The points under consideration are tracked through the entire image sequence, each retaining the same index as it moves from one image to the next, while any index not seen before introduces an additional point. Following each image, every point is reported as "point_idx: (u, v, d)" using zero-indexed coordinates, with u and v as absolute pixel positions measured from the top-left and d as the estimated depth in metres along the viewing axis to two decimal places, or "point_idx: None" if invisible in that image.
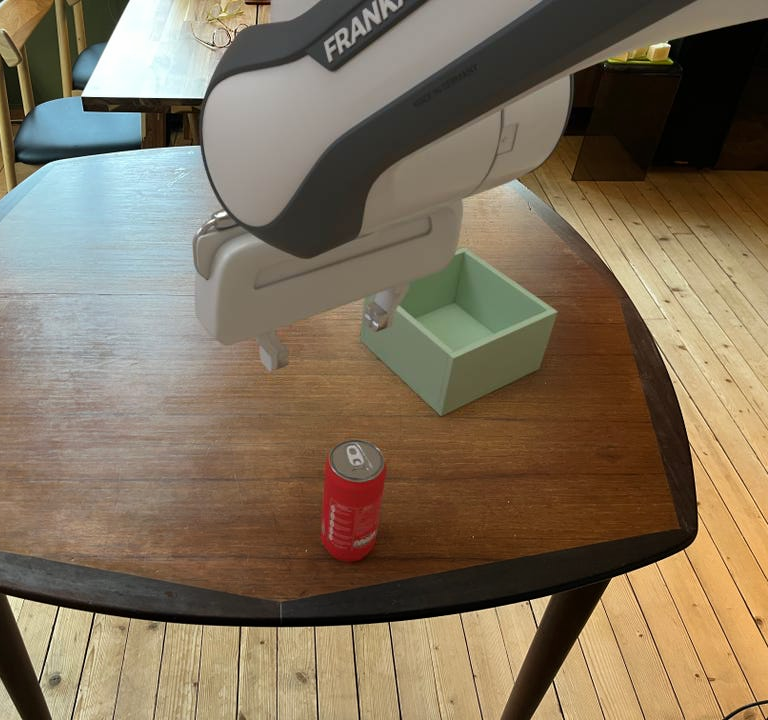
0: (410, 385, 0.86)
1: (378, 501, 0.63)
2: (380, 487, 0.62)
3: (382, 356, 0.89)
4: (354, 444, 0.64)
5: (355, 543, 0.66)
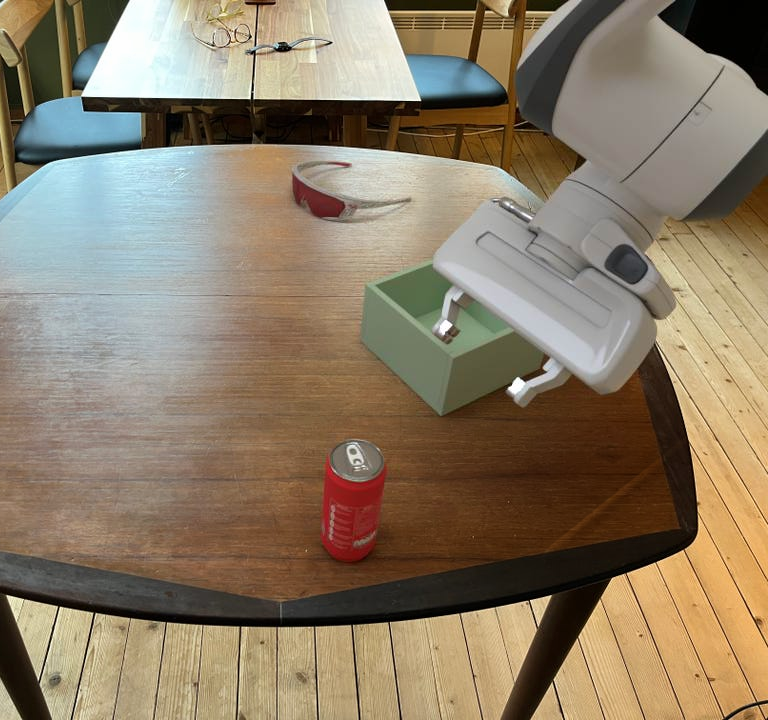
0: (410, 385, 0.86)
1: (378, 501, 0.63)
2: (380, 487, 0.62)
3: (382, 356, 0.89)
4: (354, 444, 0.64)
5: (355, 543, 0.66)
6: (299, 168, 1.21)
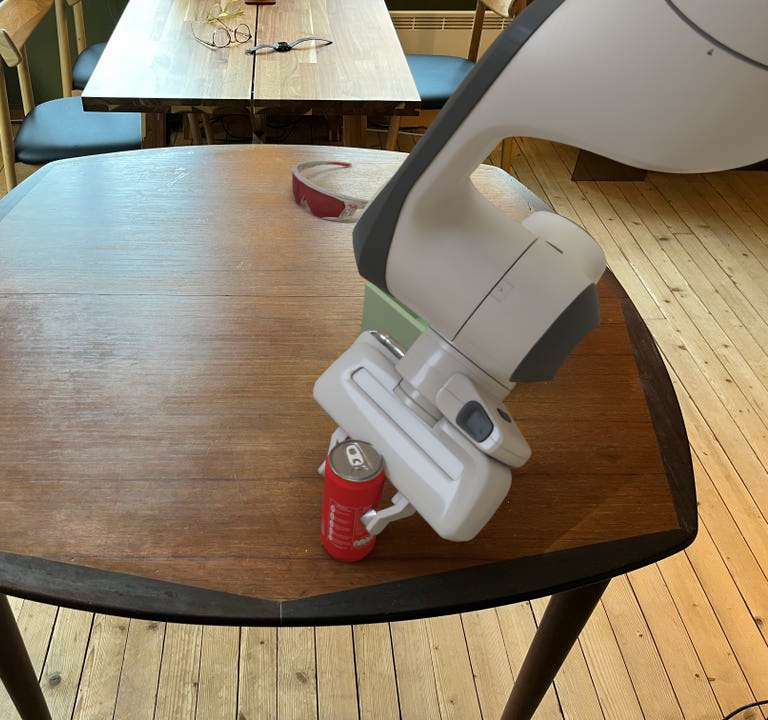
0: None
1: (378, 501, 0.63)
2: (380, 487, 0.62)
3: None
4: (354, 444, 0.64)
5: (355, 543, 0.66)
6: (299, 168, 1.21)
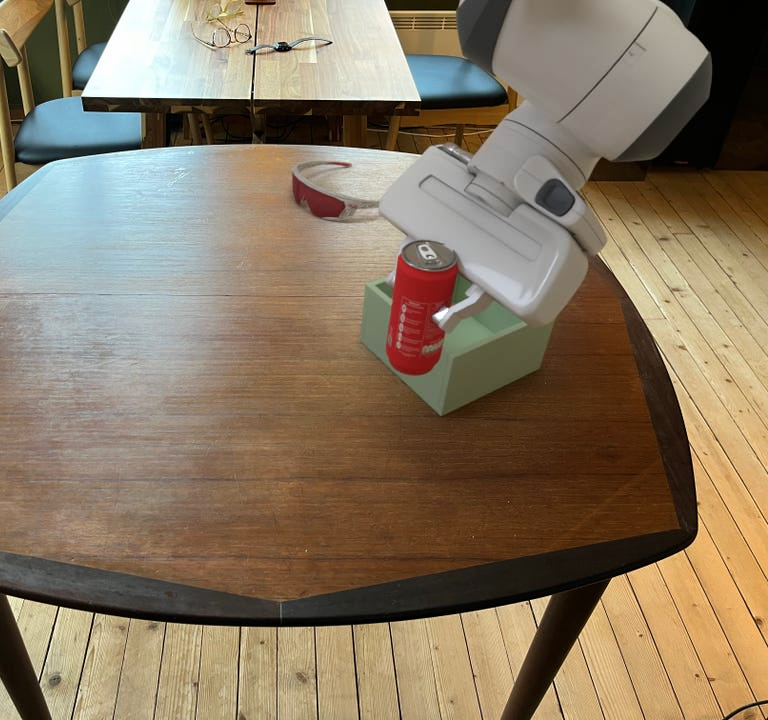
0: (410, 385, 0.86)
1: (449, 300, 0.63)
2: (453, 282, 0.62)
3: (382, 356, 0.89)
4: (425, 243, 0.64)
5: (424, 349, 0.66)
6: (299, 168, 1.21)
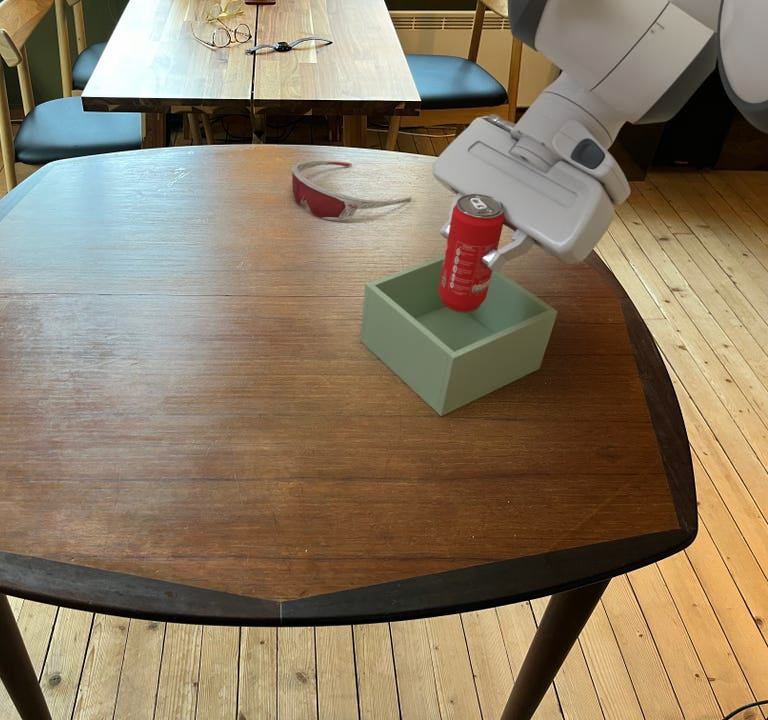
0: (410, 385, 0.86)
1: (496, 244, 0.75)
2: (500, 228, 0.74)
3: (382, 356, 0.89)
4: (476, 197, 0.75)
5: (474, 287, 0.78)
6: (299, 168, 1.21)
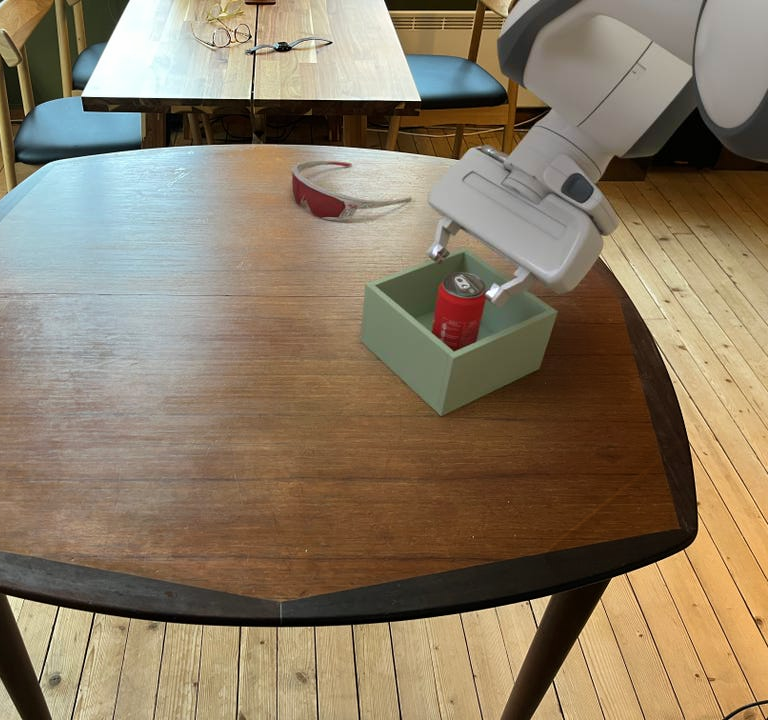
0: (410, 385, 0.86)
1: (480, 319, 0.81)
2: (483, 305, 0.80)
3: (382, 356, 0.89)
4: (460, 275, 0.81)
5: None
6: (299, 168, 1.21)
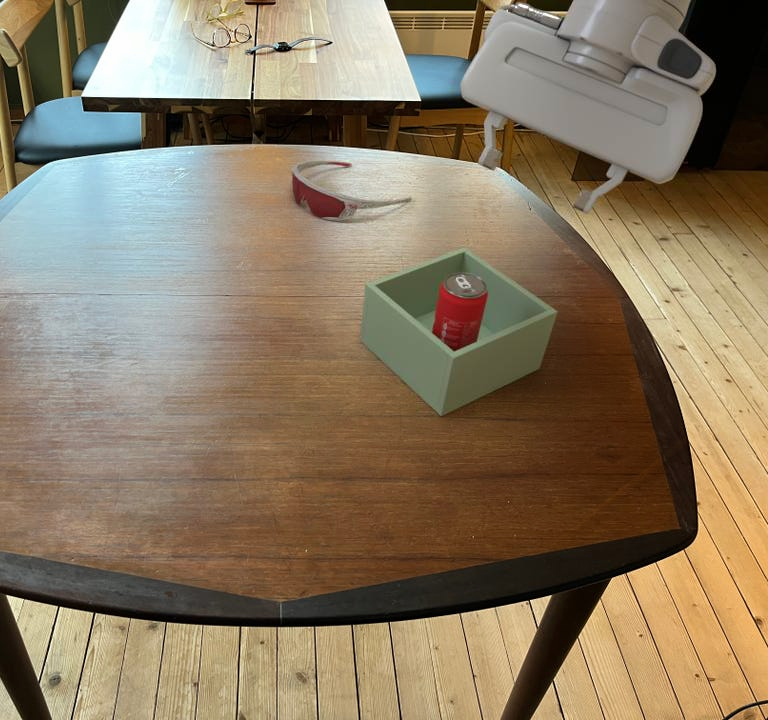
0: (410, 385, 0.86)
1: (480, 319, 0.81)
2: (484, 306, 0.80)
3: (382, 356, 0.89)
4: (461, 276, 0.81)
5: None
6: (299, 168, 1.21)
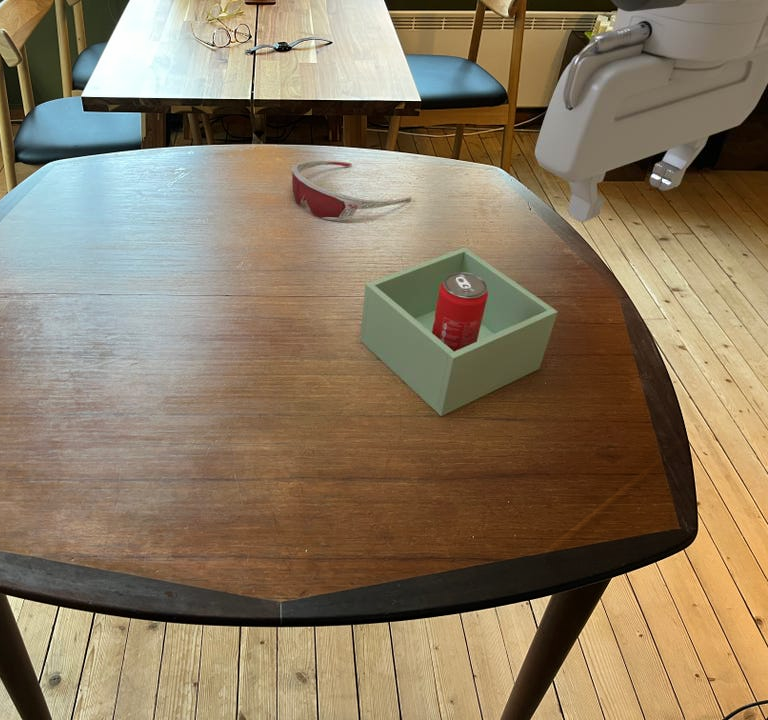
0: (410, 385, 0.86)
1: (480, 319, 0.81)
2: (484, 306, 0.80)
3: (382, 356, 0.89)
4: (461, 276, 0.81)
5: None
6: (299, 168, 1.21)
